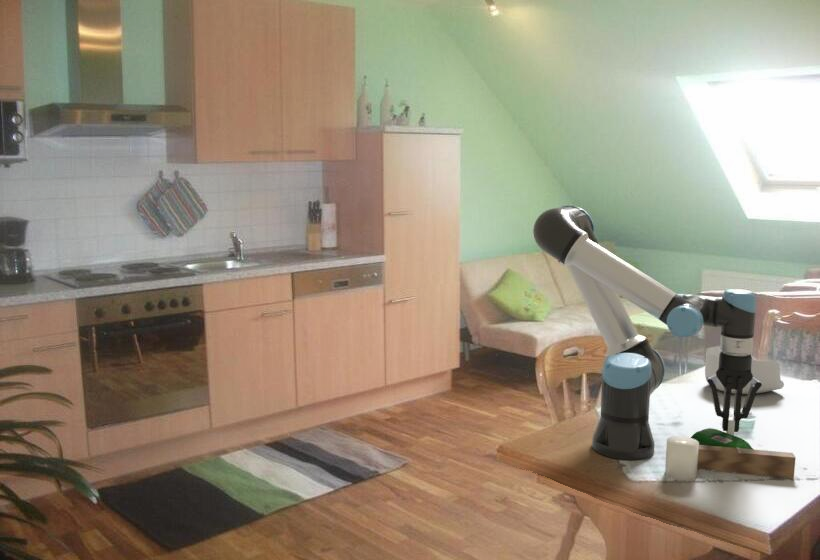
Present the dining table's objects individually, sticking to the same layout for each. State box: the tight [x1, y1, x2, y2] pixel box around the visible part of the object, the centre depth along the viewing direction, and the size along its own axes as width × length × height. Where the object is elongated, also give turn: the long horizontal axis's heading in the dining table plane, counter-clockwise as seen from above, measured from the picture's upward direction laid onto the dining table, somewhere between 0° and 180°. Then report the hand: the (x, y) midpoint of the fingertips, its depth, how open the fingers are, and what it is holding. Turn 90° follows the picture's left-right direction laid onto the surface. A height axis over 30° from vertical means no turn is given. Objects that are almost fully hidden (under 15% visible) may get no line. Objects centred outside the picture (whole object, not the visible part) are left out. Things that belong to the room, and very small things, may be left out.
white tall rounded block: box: [664, 435, 699, 481], centre depth 190 cm, size 7×7×8 cm
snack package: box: [690, 427, 754, 449], centre depth 202 cm, size 7×16×5 cm, turn 29°
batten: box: [697, 445, 796, 479], centre depth 192 cm, size 22×3×5 cm, turn 76°
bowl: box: [704, 345, 785, 395], centre depth 257 cm, size 20×19×12 cm
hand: (729, 443), depth 207 cm, fingers closed
